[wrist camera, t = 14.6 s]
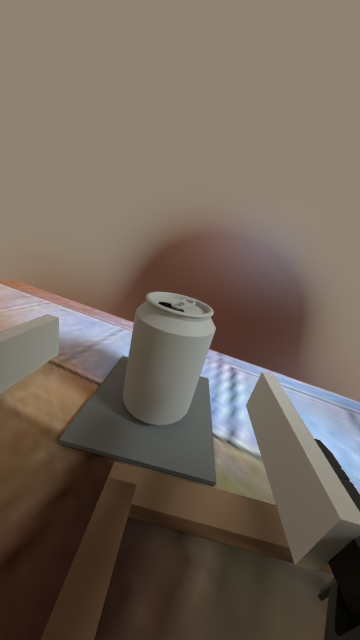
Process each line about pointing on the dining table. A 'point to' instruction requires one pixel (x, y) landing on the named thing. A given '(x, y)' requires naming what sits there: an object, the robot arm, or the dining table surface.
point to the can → (166, 356)
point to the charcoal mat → (146, 432)
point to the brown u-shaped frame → (164, 510)
